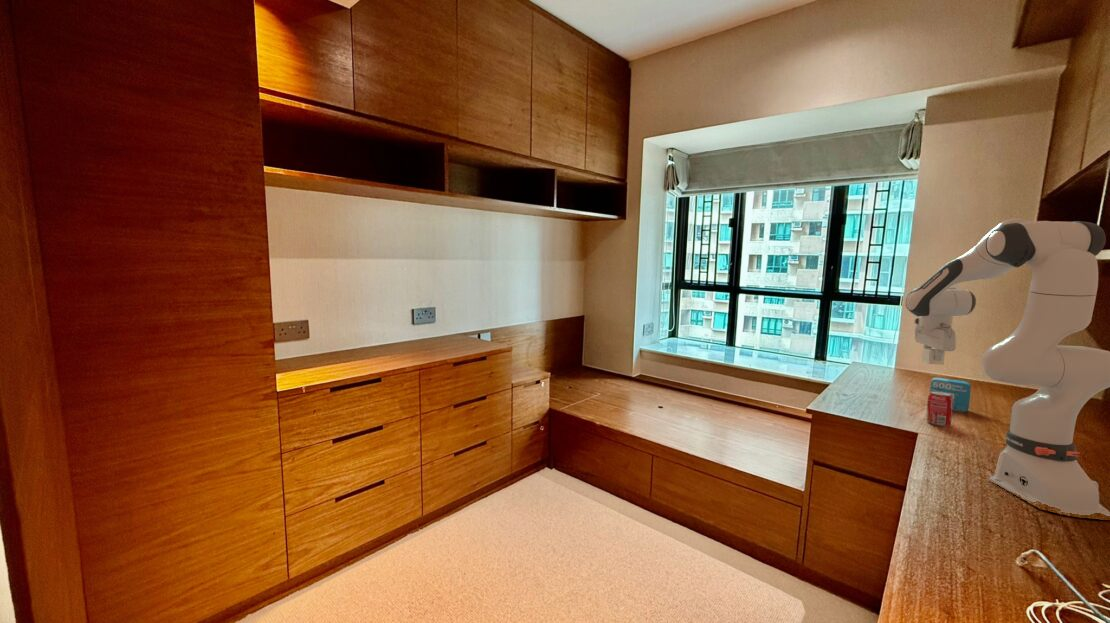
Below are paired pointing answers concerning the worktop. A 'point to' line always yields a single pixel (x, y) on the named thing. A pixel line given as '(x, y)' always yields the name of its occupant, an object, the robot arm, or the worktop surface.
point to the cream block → (931, 357)
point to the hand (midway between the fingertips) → (932, 358)
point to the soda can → (939, 408)
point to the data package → (954, 392)
